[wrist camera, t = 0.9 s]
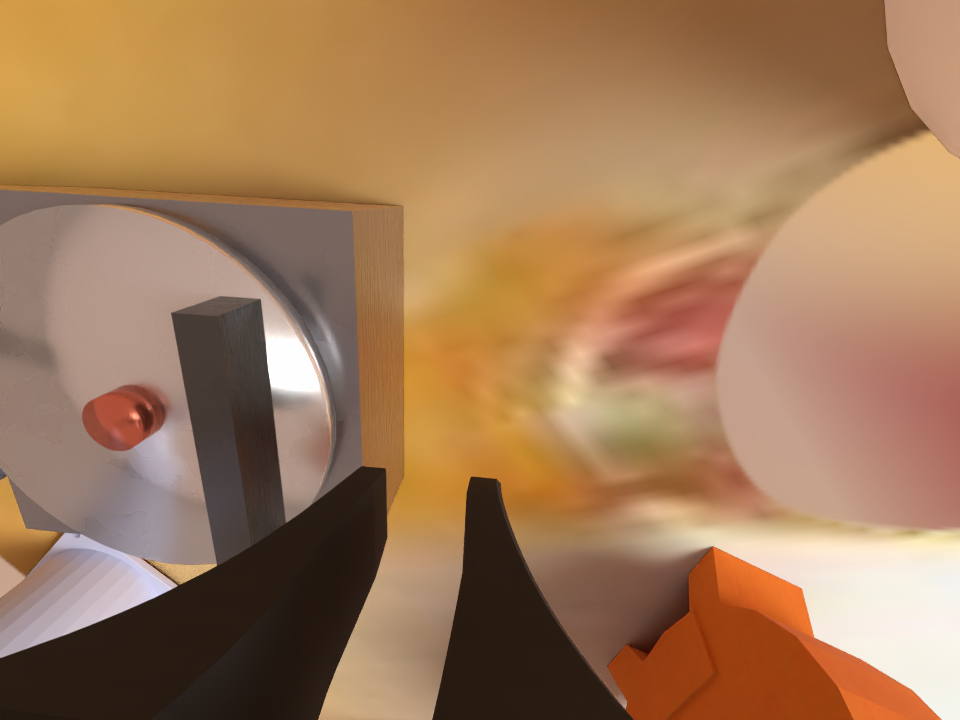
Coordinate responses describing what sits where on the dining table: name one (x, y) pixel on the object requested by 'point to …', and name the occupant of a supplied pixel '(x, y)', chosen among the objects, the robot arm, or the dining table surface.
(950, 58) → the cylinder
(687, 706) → the orange lumpy piece
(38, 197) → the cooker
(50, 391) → the lid
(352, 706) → the dining table surface
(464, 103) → the dining table surface
